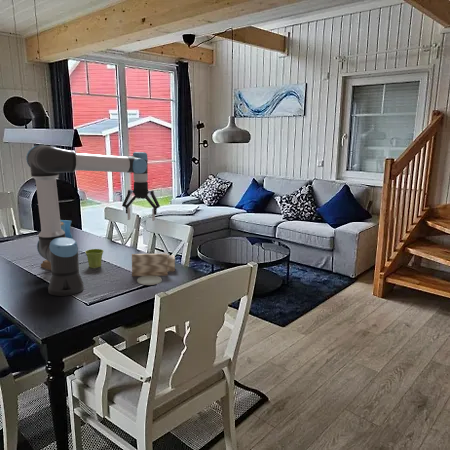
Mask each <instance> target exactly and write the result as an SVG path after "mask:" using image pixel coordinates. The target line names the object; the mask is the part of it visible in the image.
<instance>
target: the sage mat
mask: <svg viewBox="0 0 450 450" xmlns="http://www.w3.org/2000/svg"><path fill="white" fill-rule="evenodd" d="M136 281H137V283H138V284H140V285H143V286H153V285H158V284H160V283H162V281H163V280H162V277H161V276H152V275H149V276H139V277H138V278H137V279H136Z"/></svg>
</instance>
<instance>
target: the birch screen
mask: <svg viewBox="0 0 450 450" xmlns="http://www.w3.org/2000/svg"><path fill="white" fill-rule="evenodd" d="M168 255H169V254H168V253H132V254H131V277H142V276H149V275H152V276H158V277H161V276H168V272H169V271H167V266H168Z"/></svg>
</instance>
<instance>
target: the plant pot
mask: <svg viewBox="0 0 450 450" xmlns="http://www.w3.org/2000/svg"><path fill="white" fill-rule="evenodd" d="M85 254H86V257H87V262H88V263H87V264H88V267H89V268H90V269H97V268H101V267H102V258H103V254H104V249H100V248H92V249H87V250H85Z"/></svg>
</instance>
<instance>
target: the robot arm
mask: <svg viewBox="0 0 450 450" xmlns="http://www.w3.org/2000/svg"><path fill="white" fill-rule="evenodd" d="M25 157H26V158H25V160H26V163H27V165H28V167H29V168H30V175H31V177H32V179H34V180H35V187H36V195H37V203H38V213H39V220H40V230H41V231H40V232H39V233H38V235H37V236H38V240H37V243H36V249H37V253H38V254H39V255H40V257H42V258H43V259H44V260H48V261H49V262H51V270H50V271H51V275H50V280H49V284H48V286H47V287H48V288H47V289H48V294H50V295H52V296H56V297H57V296H58V297H64V296H72V295H76V294H78V293H81V292H82V291H83V290H84V289H85V288H84V287H85V286H84V282H83V279H82V277H81V274H80V265H79V264H80V263H79V246H78V242H77V241H76V239H71V238H66V237H65V232H64V231H63V230H62V229H61V222H60V220H61V216H60V214H61V213H60V203H59V195H58V187H57V186H58V185H57V184H58V183H57V178H59V176H60V174H63V173H74V172H77V171H84V172H85V171H86V172H105V173H106V172H109V173H129V174H131V173H132V175H133V190H132V189H128V190H127V194H126V196H125V199H124V201H123V203H122V205H121V207H123V208H125V213H126V214H127V221H130V220H131V207H130V206H131V205H132V203H134V202H135V200H136V199H144V200H146V201H147V203H149V205H150V206H151V207H152V210H151V213H152V215H151V219H152V222H153V221H155V220H156V215H157V214H158V213H157V209H158V208H161V205H160V203H159V201H158V198H157V196H156V195H155V190H149V182H148V180H149V178H148V177H149V176H148V175H149V173H148V171H149V170H148V169H149V168H148V165H149V164H148V162H149V160H148V153H147V152H145V151H144V152H143V151H134V152H133V153H132V155H128V156H127V155H108V154H107V155H105V154H93V153H82V152H81V153H79V152H78V153H77V152H75V150H71V149H69V150H68V149H63V148H59V147H55V146H51V145H44V144H40V145H35V146H33V147H30V148H29V150H28V151H27V153H26V156H25ZM132 194H133V197H132V198H131V199H130V197H131V195H132ZM149 195H151V198H152V199H151V198H150V197H149ZM129 199H130V201H129ZM128 201H129V202H128Z"/></svg>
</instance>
